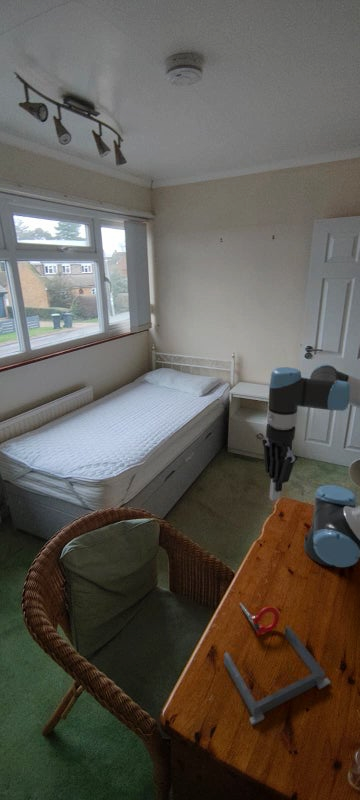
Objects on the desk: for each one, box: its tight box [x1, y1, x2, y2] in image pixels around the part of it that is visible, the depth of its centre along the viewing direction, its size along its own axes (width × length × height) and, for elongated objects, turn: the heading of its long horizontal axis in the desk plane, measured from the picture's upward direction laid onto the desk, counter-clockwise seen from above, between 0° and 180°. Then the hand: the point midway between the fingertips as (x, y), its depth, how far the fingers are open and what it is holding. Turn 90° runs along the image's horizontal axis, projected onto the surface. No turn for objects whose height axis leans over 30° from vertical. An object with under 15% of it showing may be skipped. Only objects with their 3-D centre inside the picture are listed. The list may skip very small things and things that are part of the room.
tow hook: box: [238, 602, 280, 636], centre depth 103 cm, size 7×10×7 cm
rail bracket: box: [223, 625, 331, 726], centre depth 89 cm, size 21×14×3 cm, turn 113°
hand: (274, 498), depth 110 cm, fingers closed
